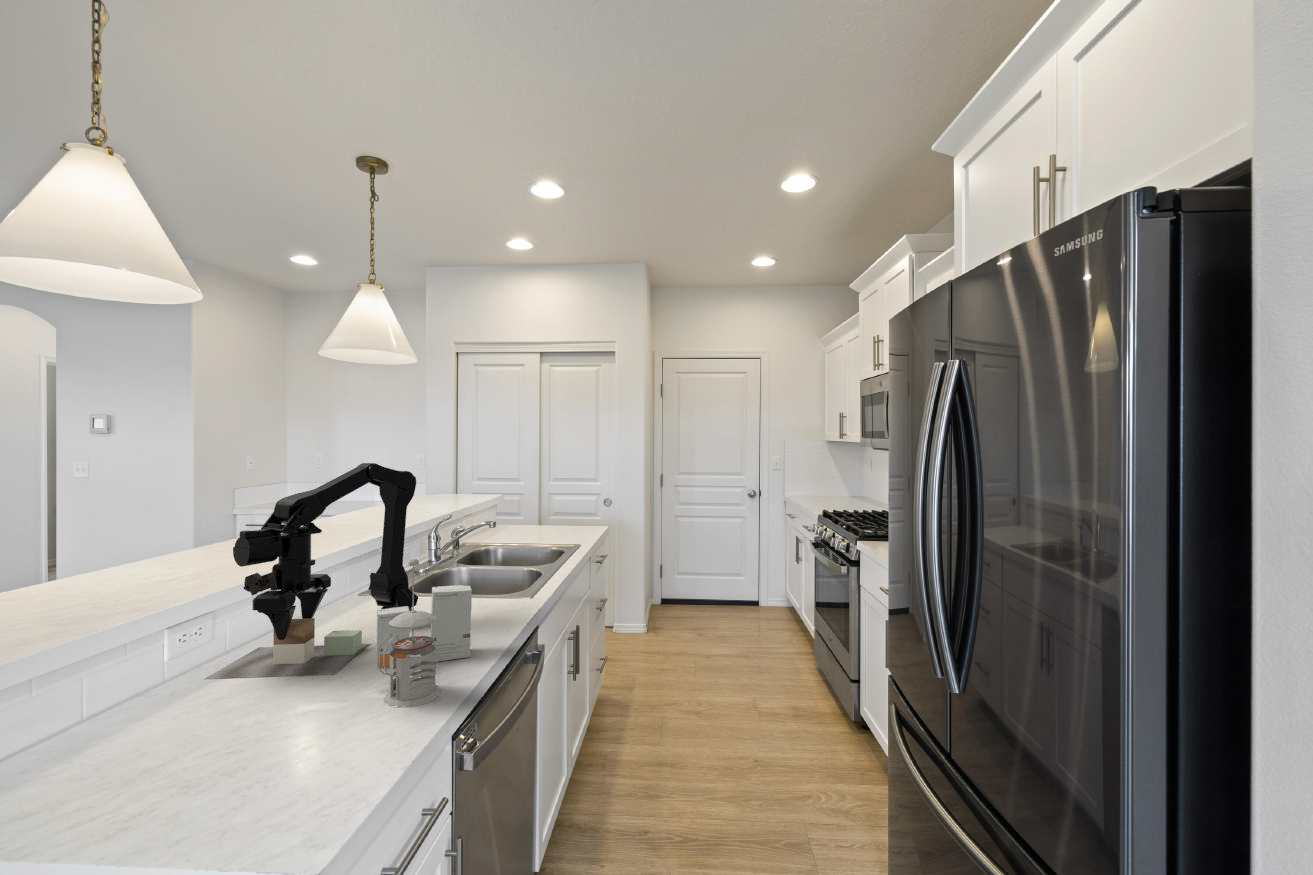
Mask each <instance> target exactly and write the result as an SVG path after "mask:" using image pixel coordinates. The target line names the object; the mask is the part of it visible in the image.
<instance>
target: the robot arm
mask: <svg viewBox="0 0 1313 875" xmlns="http://www.w3.org/2000/svg"><path fill="white" fill-rule="evenodd" d="M368 483H369V484H371V485H373V486H377V487H378V488H379V489H378V490H379V497H380V498H381V501H382V503H383V505H384V514H383V515H384V518H383V529H382V530H383V532H382V543H381V556H380V565H379V567H378V568H377V570H376V572H371V573H370V575H369V580H370V581H369V586H368V589H367V590H369V591H370V595H371V597H372V598H373V599H374V600H375V603H376V606H378V607H381V608H380V610H381V609H389V608H395V607H405V606H408V607H409V611H412V602H413V590H411V589H410V587H409V586H410V585H409V576H408V574H407V571H406V569H405V567H404V551H405V550H404V549H405V537H406V526H407V525H406V522H407V521H406V520H407V509H408V506H409V504H410V503H411V500H412V499H413V498H414V496H415V492H416V487H417V478H416V476H415V475H414V474H413V473H412V472H410V471H407V470H396V469H393V468H389V467H385V466H383V465H380V464H377V463H376V462H363V463H360V464H359V465H357V466H356V467H355V468H353V469H350V470H349V471H347V472H345V473H343V474H340V475H339V476H337V477H335V478H334V479H331V480H329V481H327V482H326V483H324V484H322V485H320V486H318V487H316V488H313V489H310V490H307V491H302V492H297V493H294V494H291V495H288V496H285V497H282V498H281V499H279V500H277V501H276V503H275V505H274V508H273V512H272V513H271V514H270V516H268V518H267V519H266V521H265V522H264V524H263V525H262V527H261V528H260V529H256V530H247V529H246V530H241V531H239V537H238V538H237V539H236V541H235V543H234V547H232V554H233V555H232V556H233V559H234V561H235V563H236V565H237V566H239V567H241V568H242V567H248V566H253V565H254V566H255V565H259V564H263V563H265V564H266V563H271V562H275V561H276V560H277V559H278V563H275V564H273V566H272V567H271V569H272V570H271V572H268V573H266V574H262V575H261V574H260V573H259V572H255V573H252V574H250V575H247V576H245V577H244V586H243V590H245V591H247V592H248V593H250V594H251V596H255V595H256V596H255V597H254V598H253V599H252V610H253V611H257V613H259V614H264V615H265V616H266V617H268V618H269V621H270V623H271V625H272V628H273V631H274V630H275V633H276V635H277V638H278V640H284V639H285V638H286V635H287V632H288V629H289V626H290V623H291V620H292V619H293V616H294V614H295V610H296V607H297V606H296V605H295V602H296V600H297V599H298V600H299V602H300V609H301V610H300V612H301V619H308V618H314V616H315V614H316V612H317V610H318V609H319V606H320V604H321V602H322V600H323V598H324V596H325V594H326V593H327V592H328V590H329V587H332V586H331V585H332V577H331V576H330V575H328V573H319V574H318V573H317V574H316V573H312V566H315V565H316V559H312V535H315V534H321V533H322V532H323V530H322V529H321V528H320V527H318V526H316V524H315V523H314V522H313V521H315V520H316V519H317V518H319V517H320V516H321V515H322V514H324V512H325V510H326V509H327V507H329V506H330V505H332V504H333V503H334V502H337V501H338V500H340V499H342V498H344V497H345V496H347V495H349V494H351V493H353V492H354V491H356V490H358V489H360V488H361V487H363V486H365V485H367V484H368ZM269 589H270V590H269ZM266 590H267V591H266ZM263 591H264V592H263ZM259 593H260V594H259ZM296 597H297V598H296ZM418 600H419V596H418V595H417V594H416V593H414V607H416V606H417V603H418Z"/></svg>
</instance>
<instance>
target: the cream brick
mask: <svg viewBox="0 0 1313 875" xmlns="http://www.w3.org/2000/svg"><path fill="white" fill-rule="evenodd" d="M314 646H315V637H314V638H312V639H311V640H309V641H308V642H306V643H305V644H281V645H274V644H273V646H272V647H273V664H301V663H305V662H307V661H308V660H310V659H311V658H312V657H314Z"/></svg>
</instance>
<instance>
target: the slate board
mask: <svg viewBox="0 0 1313 875" xmlns="http://www.w3.org/2000/svg"><path fill="white" fill-rule="evenodd" d="M371 645H372V644H371V643H363V644H362V648H361V649H360V650H359V651H358V652H356V653H355V654H354V655H333V656H324V644H322V645H314V657H312V658H311V659H310V660H308V661H307V662H305V663H301V664H273V646H267V647H266V646H263V647H257V648H256V649H253V650H252V651H250V652H248V653H247V654H245V655H244V656H241V657H240V658H238V659H236V660H234V661H233V662H231V663H229V664H227V665H226V666H224V667H222V668H221V669H219V670H218V671H215V672H213V673H212V674H210V675H209V676H206V677H205V678H204V680H223V679H224V680H225V679H227V680H228V679H230V680H231V679H256V678H259V679H260V678H283V677H284V678H287V677H311V676H335V675H336V674H337V673H338V672H340V671H341V670H342V669H344V667H346V666H347V665H348V664H349V663H350V662H351V661H352V660H354V659H355V658H357V657H358V656H359V655H360V654H361V653H363V652H364V651H365V650H366V649H367V648H369V647H370V646H371Z"/></svg>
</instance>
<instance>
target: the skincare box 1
mask: <svg viewBox="0 0 1313 875" xmlns="http://www.w3.org/2000/svg"><path fill="white" fill-rule="evenodd" d="M405 612H409V607H408V606H405V607H395V608H389V609H381V608H380V609H377V610H376V613H377V614H376V615H377V616H376V617H377V618H376V669H379V668H378V665H377V653H378V649H379V647H380V644H381V642H382V641H383V639H384V638H385V637H386V636H387V635H389V634H392V638H393V637H394V636H395V635H398V640H399V639H401V638H404V637H410V629H394V628H392V627H390V625H389V622H390V621H391V620H393V619H394V618H395V617H396V616H398V615H400V614H402V613H405ZM390 640H391V635H389V636H388V637H387V638H386V639H385V640H384V642H383V643H382V645H381V648H380V651H379V655H378V656H379V666H380V668H381V669H384V666H383V655H384V651H385V648H386V646H387V644H388V643H389V641H390ZM393 640H394V641H397V637H395V638H394V639H393ZM393 643H394V642H393V641H392V640H391V642H390V644H389V645H388V647H387V650H386V653H385V667H386V668H390V652H391V651H392V650H394V649H393V648H392V644H393ZM409 656H410V655H405V654H400V653H399V654H395V655H394V656H393V659H394V658H396V657H403V658H410V657H409ZM394 665H396V661H395V662H394V663H393V666H394Z"/></svg>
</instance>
